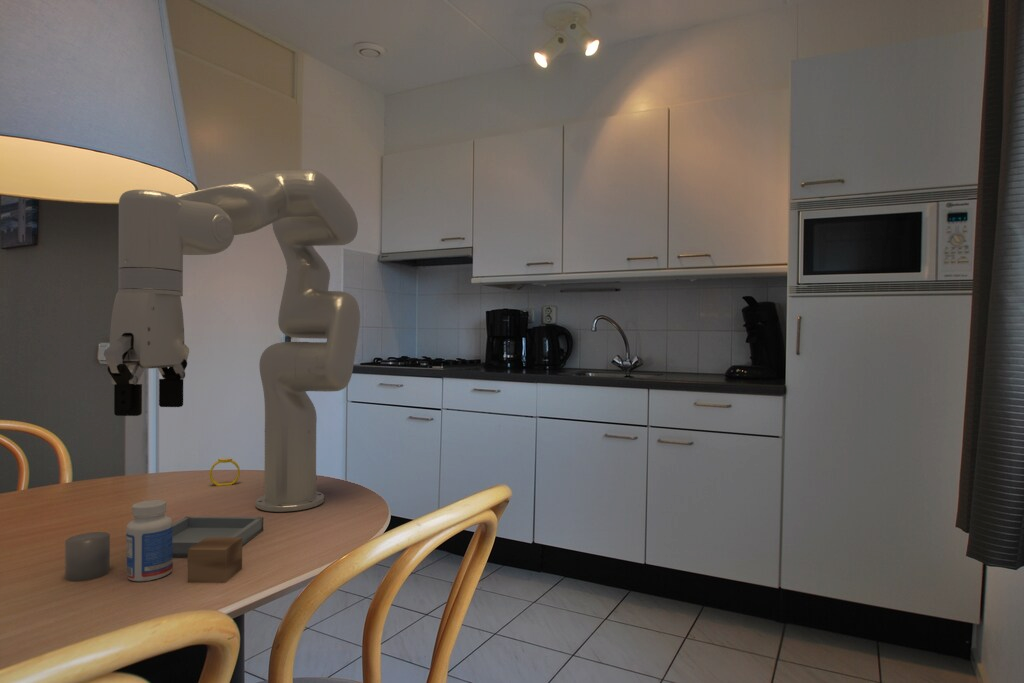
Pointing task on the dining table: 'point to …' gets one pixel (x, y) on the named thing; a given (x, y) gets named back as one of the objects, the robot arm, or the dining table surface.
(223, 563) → the walnut block
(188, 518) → the slate tray
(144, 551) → the pill bottle
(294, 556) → the dining table surface
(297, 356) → the robot arm
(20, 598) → the dining table surface
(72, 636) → the dining table surface
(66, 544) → the smooth grey pebble
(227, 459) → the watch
